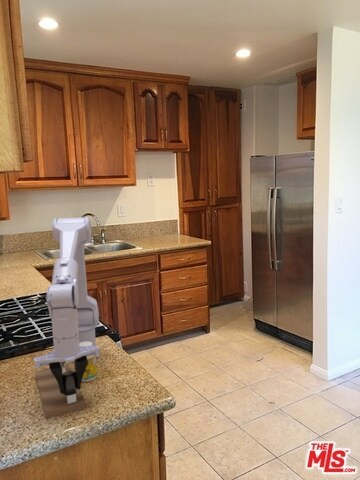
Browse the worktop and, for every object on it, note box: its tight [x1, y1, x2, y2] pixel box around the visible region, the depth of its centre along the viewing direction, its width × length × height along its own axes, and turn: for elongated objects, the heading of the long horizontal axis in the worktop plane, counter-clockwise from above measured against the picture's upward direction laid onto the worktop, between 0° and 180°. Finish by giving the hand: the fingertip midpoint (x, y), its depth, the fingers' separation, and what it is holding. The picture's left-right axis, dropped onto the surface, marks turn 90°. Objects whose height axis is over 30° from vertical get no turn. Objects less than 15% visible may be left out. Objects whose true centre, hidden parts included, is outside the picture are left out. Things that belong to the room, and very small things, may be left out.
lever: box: [60, 362, 77, 404], centre depth 100 cm, size 20×4×6 cm, turn 26°
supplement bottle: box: [79, 341, 98, 383], centre depth 106 cm, size 5×5×10 cm
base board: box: [34, 363, 87, 419], centre depth 100 cm, size 22×9×2 cm, turn 26°
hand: (70, 389), depth 92 cm, fingers closed on lever, 3 cm apart
